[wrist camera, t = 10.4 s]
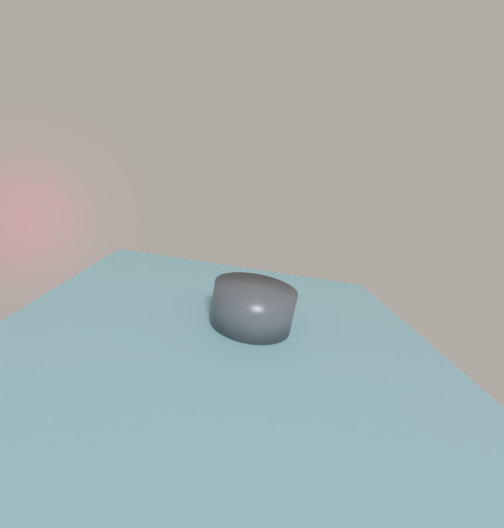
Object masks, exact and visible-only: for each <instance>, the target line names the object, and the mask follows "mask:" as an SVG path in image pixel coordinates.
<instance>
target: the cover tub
mask: <svg viewBox="0 0 504 528" xmlns="http://www.w3.org/2000/svg"><path fill="white" fill-rule="evenodd" d="M0 528H504V407H503V406H501V405H500V404H499V403H498V402H497V401H496V400H494V399H493V398H492V397H491V396H490V395H489V394H488V393H486V392H485V391H484V390H483V389H482V388H481V387H479V386H478V385H477V384H476V383H475V382H474V381H472V380H471V379H470V378H469V377H468V376H467V375H465V374H464V373H463V372H462V371H461V370H460V369H458V368H457V367H456V366H455V365H454V364H453V363H451V362H450V361H449V360H448V359H447V358H446V357H444V356H443V355H442V354H441V353H440V352H439V351H437V350H436V349H435V348H434V347H433V346H432V345H430V344H429V343H428V342H427V341H426V340H424V338H422V337H421V336H420V335H419V334H418V333H417V332H415V331H414V330H413V329H412V328H411V327H409V326H408V325H407V324H406V323H405V322H404V321H403V320H401V319H400V318H399V317H398V316H397V315H396V314H395V313H393V312H392V311H391V310H390V309H389V308H387V307H386V306H385V305H384V304H383V303H382V302H381V301H379V300H378V299H377V298H376V297H375V296H374V295H372V294H371V293H370V292H369V291H368V290H367V289H365V288H364V287H363V286H362V285H357V284H350V283H343V282H337V281H330V280H323V279H317V278H309V277H303V276H296V275H290V274H283V273H276V272H270V271H262V270H256V269H250V268H243V267H236V266H229V265H223V264H215V263H209V262H203V261H196V260H188V259H182V258H176V257H169V256H162V255H156V254H149V253H142V252H135V251H129V250H122V249H118V250H117V251H115V252H113V253H112V254H110V255H108V256H107V257H105V258H103V259H102V260H100V261H99V262H97V263H95V264H94V265H92V266H90V267H89V268H87V269H85V270H84V271H82V272H80V273H79V274H77V275H75V276H74V277H72V278H71V279H69V280H67V281H66V282H64V283H62V284H61V285H59V286H57V287H56V288H54V289H53V290H51V291H49V292H48V293H46V294H44V295H43V296H41V297H39V298H38V299H36V300H34V301H33V302H31V303H30V304H28V305H26V306H25V307H23V308H22V309H20V310H18V311H16V312H15V313H13V314H11V315H10V316H8V317H7V318H5V319H3V320H2V321H0Z"/></svg>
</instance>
